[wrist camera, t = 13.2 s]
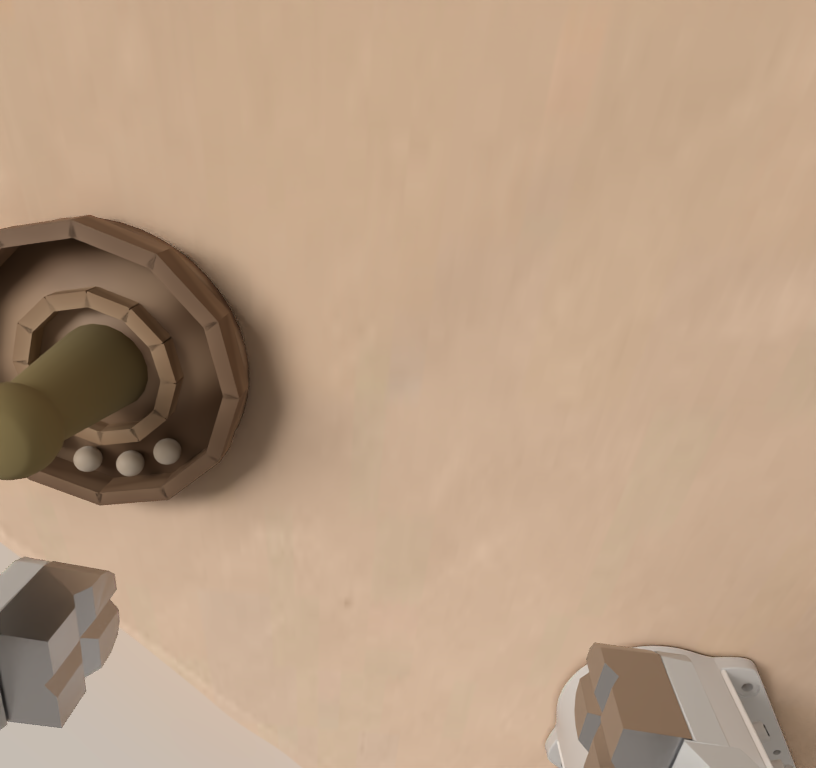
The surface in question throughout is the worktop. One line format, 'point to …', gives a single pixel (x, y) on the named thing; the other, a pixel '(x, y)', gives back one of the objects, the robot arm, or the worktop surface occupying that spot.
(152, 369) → the tray
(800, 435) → the worktop surface
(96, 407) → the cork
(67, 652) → the robot arm
